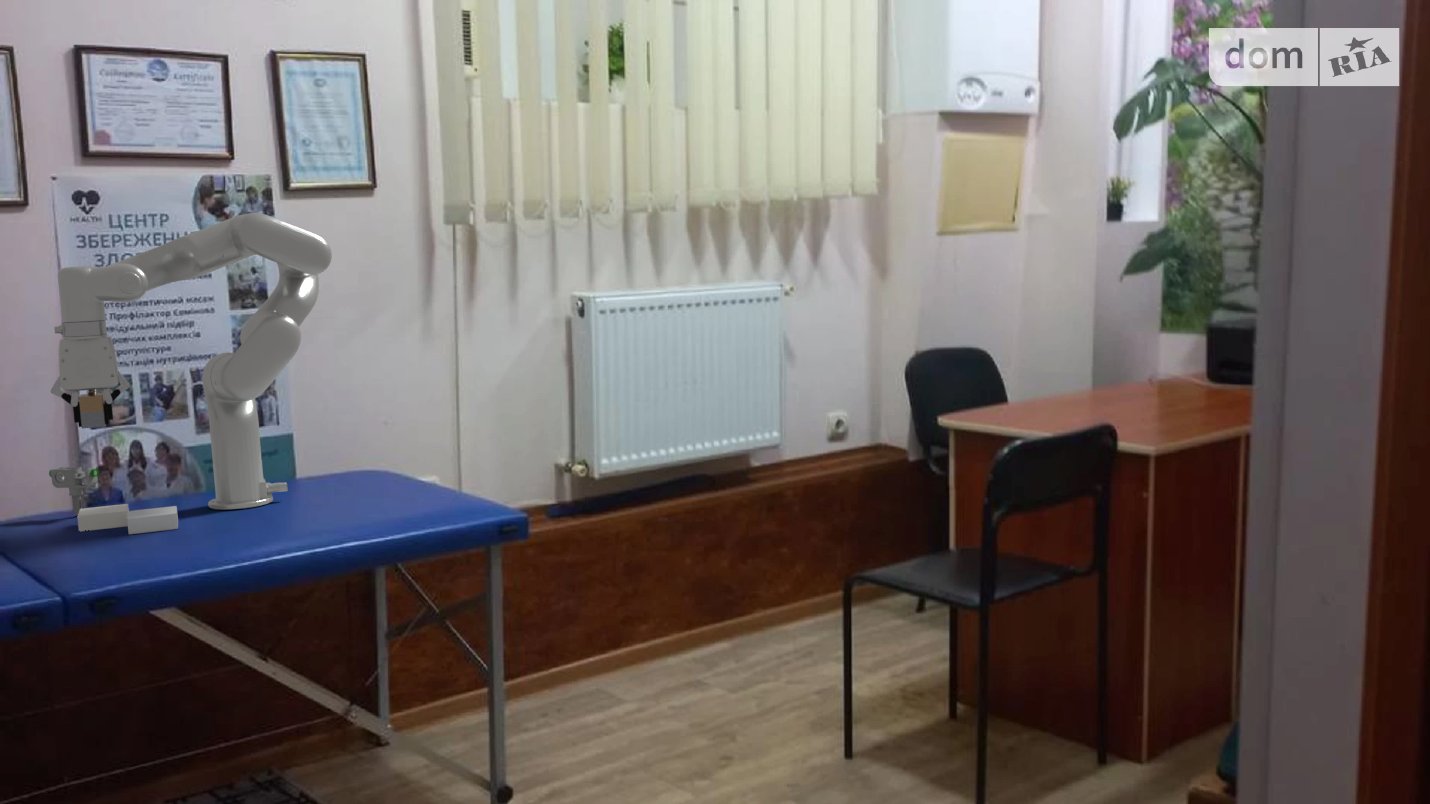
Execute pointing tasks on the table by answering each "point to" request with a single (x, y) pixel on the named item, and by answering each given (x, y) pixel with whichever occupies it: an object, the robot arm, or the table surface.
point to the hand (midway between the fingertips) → (94, 424)
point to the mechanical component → (74, 482)
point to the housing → (92, 409)
